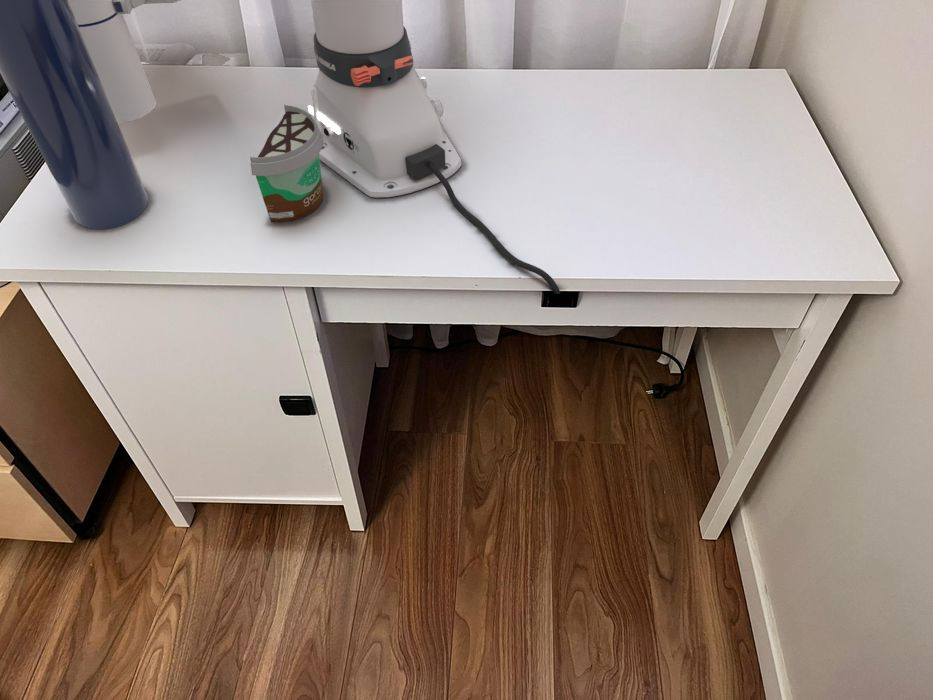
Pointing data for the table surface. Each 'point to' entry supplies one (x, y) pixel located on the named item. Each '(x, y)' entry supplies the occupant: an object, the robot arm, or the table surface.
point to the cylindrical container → (114, 58)
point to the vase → (68, 112)
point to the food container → (291, 167)
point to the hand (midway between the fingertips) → (84, 9)
